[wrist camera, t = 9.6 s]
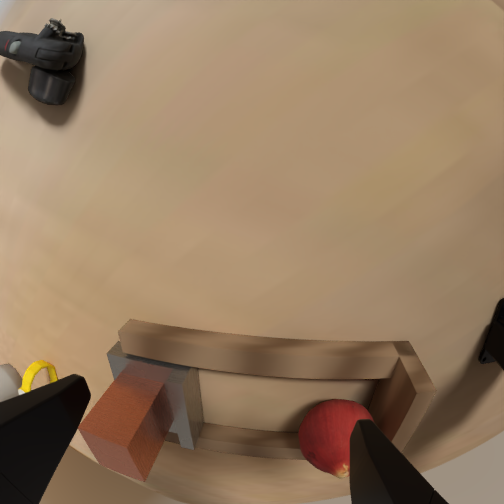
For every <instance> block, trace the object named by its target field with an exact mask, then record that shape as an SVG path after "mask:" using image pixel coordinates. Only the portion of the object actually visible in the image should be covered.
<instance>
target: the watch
mask: <svg viewBox="0 0 504 504" xmlns="http://www.w3.org/2000/svg"><path fill="white" fill-rule="evenodd" d="M46 367H47V369H48V372H49V376H50V379H51V380H50V383H52V382H55V381H57V380H58V379H57V375H56V372H55V367H54V366H53V365H51V364H49V363H48V362H45V361H43V360H39V361H35V362H34V363H32V364H31V365H30V366H29V367H28V368H27V370H26V372H25V374H24V376H23V380H22V387H20V388H19V389H18V393H19V395H21V394H24V393H26V392H29V391H31V384H32V382H33V379H34V377H35V375H36V374H37V373H38V372H39V371H40V370H41V369H43V368H46Z"/></svg>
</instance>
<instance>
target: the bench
mask: <svg viewBox="0 0 504 504" xmlns="http://www.w3.org/2000/svg"><path fill="white" fill-rule="evenodd" d="M118 333H119V338H120V342H121V347H122V351H123V353H128V354H132V355H136V356H140V357H145V358H150V359H154V360H159V361H164V362H169V363H174V364H180V365H186V366H192V367H198V368H204V369H211V370H218V371H225V372H233V373H242V374H251V375H262V376H274V377H288V378H308V379H379V382H378V385H377V388H376V390H375V393H374V396H373V398H372V401H371V403H370V406H369V408H368V412H369V413H370V414H371V416H372V418H373V421H374V423H375V424H376V425H377V426H378V427H379V429H380V430H381V431H382V432H383V433H384V434H385V435H386V436H387V438H388V439H389V440H390V441H391V442H392V443H393V444H394V445H395V447H396V448H397V449H398V450H399V451H400V452H402V450H403V449H404V447H405V446H406V444H407V443H408V441H409V440H410V438H411V436H412V435H413V433H414V432H415V430H416V428H417V427H418V425H419V423H420V421H421V420H422V418H423V416H424V414H425V412H426V411H427V409H428V407H429V405H430V403H431V401H432V399H433V397H434V395H435V393H436V391H437V390H436V388H435V386H434V385H433V383H432V381H431V379H430V377H429V375H428V374H427V372H426V370H425V368H424V367H423V365H422V363H421V361H420V360H419V358H418V356H417V354H416V353H415V351H414V349H413V348H412V346H411V344H410V342H409V341H387V342H355V341H318V340H298V339H282V338H269V337H257V336H246V335H236V334H226V333H218V332H209V331H202V330H194V329H187V328H180V327H173V326H167V325H160V324H154V323H148V322H143V321H137V320H132V319H130V320H129V321H128V322H127V323H126V324H125V325H124V326H123V327H122V328H121V329H120V330H119V331H118ZM165 440H166V441H170V442H174V443H178V444H180V441H179V437H178V434H177V433H173V432H168V434H167V436H166V438H165ZM195 447H196V448H201V449H206V450H211V451H217V452H223V453H230V454H237V455H245V456H254V457H264V458H277V459H297V460H306V458H305V457H304V456H303V454H302V452H301V450H300V444H299V436H298V433H288V432H273V431H261V430H251V429H243V428H235V427H228V426H221V425H215V424H209V423H204V424H203V427H202V430H201V432H200V435H199V438H198V441H197V444H196V446H195Z"/></svg>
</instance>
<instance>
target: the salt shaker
mask: <svg viewBox="0 0 504 504" xmlns="http://www.w3.org/2000/svg"><path fill="white" fill-rule="evenodd" d="M20 387H22V378H21V376H20V375H19V373H18V372H17V370H16V369H15V368H14V367H12V366H11V365H10V364H4V365H0V402H2V401H5V400H7V399H10V398H13V397H16V396H18V395H19V393H18V389H19V388H20Z"/></svg>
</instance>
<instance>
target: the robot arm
mask: <svg viewBox="0 0 504 504" xmlns="http://www.w3.org/2000/svg"><path fill="white" fill-rule="evenodd" d="M495 361H496V362H497V363H498V364H499V366H500V367H501V368H502V369H503V370H504V298H502V299H501V301H500V303H499V306H498V309H497V312H496V315H495V318H494V321H493V324H492V327H491V329H490V332H489V335H488V337H487V340H486V342H485V345H484V347H483V350H482V352H481V354H480V357H479V362H480V363H481V364H484V363H490V362H495ZM90 398H91V393H90V391H89V388H88V385H87V383H86V380H85V378H84V377H82V376H80V375H77V374H72V375H70V376H67V377H65V378H62V379H60V380H57V381H55V382H52V383H50V384H47V385H45V386H42V387H39V388H37V389H34V390H32V391H29V392H26V393H24V394H21V395H18V396H16V397H13V398H10V399H7V400H5V401H2V402H0V504H39V502H40V501H41V498H42V496H43V494H44V492H45V490H46V488H47V486H48V484H49V482H50V480H51V478H52V476H53V474H54V472H55V470H56V468H57V466H58V464H59V463H60V461H61V459H62V457H63V455H64V453H65V451H66V449H67V447H68V446H69V444H70V442H71V440H72V438H73V437H74V435H75V433H76V431H77V429H78V426H79V424H80V422H81V419H82V417H83V415H84V412H85V410H86V408H87V405H88V403H89V401H90ZM350 492H351V501H352V504H449V503H447V502H446V501H445V500H444V499H443V498H442V497H441V495H439V493H438V492H437V491H436V490H434V488H433V487H432V486H431V485H430V484H429V483H428V482H427V481H426V479H425V478H424V477H423V476H422V475H421V474H420V473H419V472H418V471H417V470H416V469H415V467H414V466H413V465H412V464H411V463H410V462H409V461H408V460H407V459H406V458H405V456H404V455H403V454H402V453H401V452H400V451H399V450H398V449H397V448H396V447H395V445H394V444H393V443H392V442H391V441H390V440H389V439H388V438H387V436H386V435H385V434H384V433H383V432H382V431H381V430H380V429H379V427H378V426H377V425H376V424H375V423H374V422H373V421H372V420H371V419H359V420H357V422H356V424H355V426H354V428H353V431H352V433H351V436H350Z"/></svg>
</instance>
